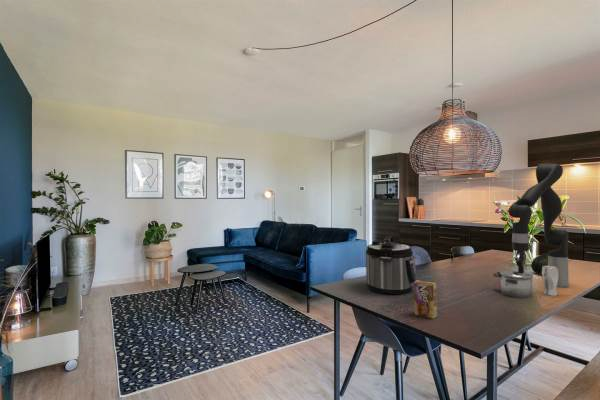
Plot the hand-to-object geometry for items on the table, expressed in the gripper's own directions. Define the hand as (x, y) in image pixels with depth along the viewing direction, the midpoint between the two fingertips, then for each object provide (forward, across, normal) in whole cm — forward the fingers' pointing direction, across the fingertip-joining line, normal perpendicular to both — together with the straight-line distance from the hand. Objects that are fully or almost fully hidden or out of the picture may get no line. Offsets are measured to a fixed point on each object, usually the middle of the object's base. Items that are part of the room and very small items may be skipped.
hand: (521, 273), depth 167 cm
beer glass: (+12, +11, -11) cm, 20 cm away
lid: (+2, 0, +3) cm, 3 cm away
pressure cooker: (+12, -39, +56) cm, 70 cm away
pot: (+12, 0, +4) cm, 12 cm away
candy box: (+12, -65, +22) cm, 70 cm away
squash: (+12, +63, 0) cm, 64 cm away
